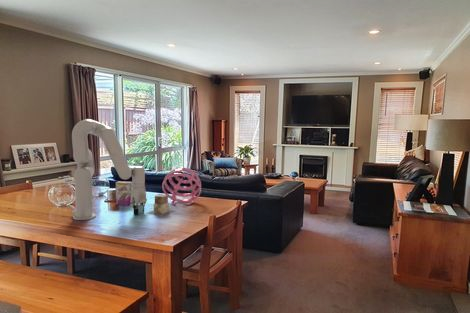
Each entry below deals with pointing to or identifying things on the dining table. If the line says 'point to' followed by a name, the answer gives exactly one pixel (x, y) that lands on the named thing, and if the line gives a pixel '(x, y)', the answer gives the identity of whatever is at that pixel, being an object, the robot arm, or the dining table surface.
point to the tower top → (161, 199)
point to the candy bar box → (123, 193)
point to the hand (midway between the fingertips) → (138, 213)
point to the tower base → (161, 208)
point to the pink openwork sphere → (177, 187)
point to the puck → (140, 209)
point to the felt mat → (161, 214)
